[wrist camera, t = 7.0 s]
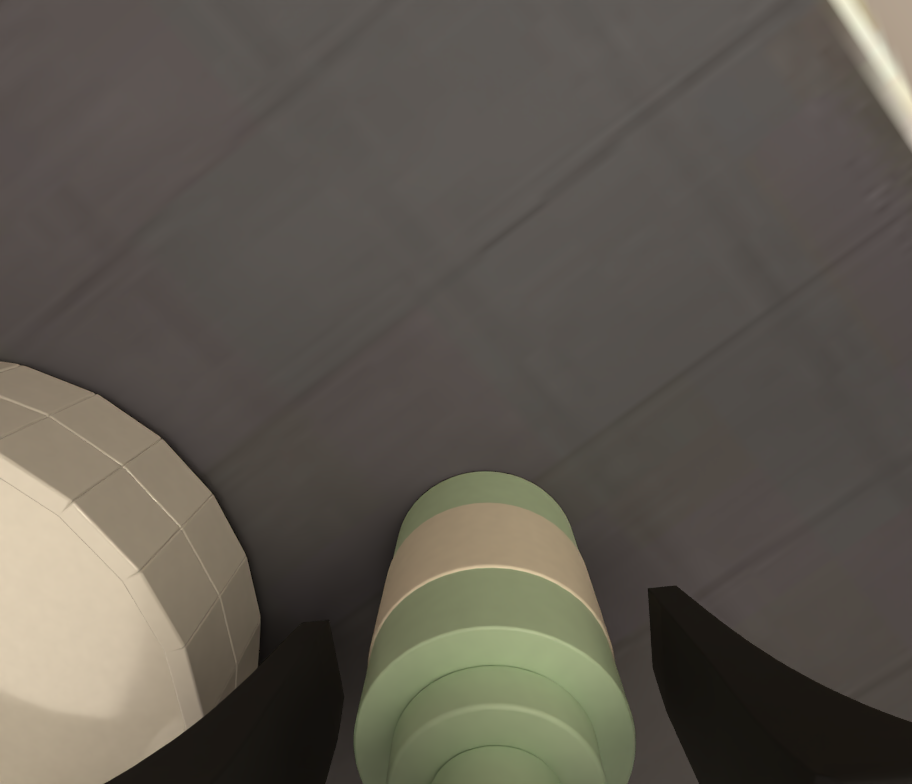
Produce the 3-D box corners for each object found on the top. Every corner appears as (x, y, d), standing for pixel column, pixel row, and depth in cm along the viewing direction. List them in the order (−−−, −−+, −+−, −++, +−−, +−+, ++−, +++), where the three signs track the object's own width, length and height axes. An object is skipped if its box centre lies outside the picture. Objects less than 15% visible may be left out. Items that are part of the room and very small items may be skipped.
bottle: (569, 458, 17) (690, 756, 8) (583, 624, 19) (703, 1055, 9) (382, 479, 18) (274, 791, 8) (408, 641, 19) (344, 1076, 9)
